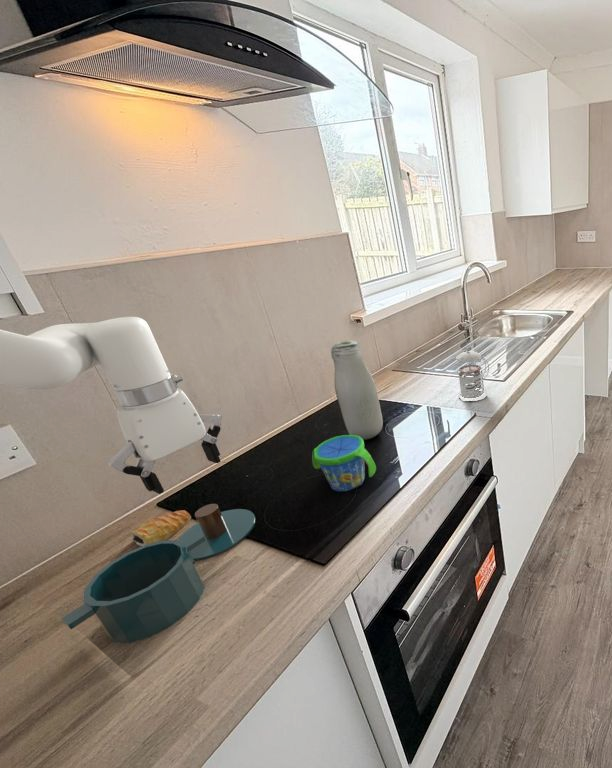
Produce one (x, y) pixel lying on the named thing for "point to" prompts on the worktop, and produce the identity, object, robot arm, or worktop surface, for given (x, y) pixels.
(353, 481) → the snack cup
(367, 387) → the glass bottle
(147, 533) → the pastry
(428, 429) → the worktop surface
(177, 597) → the pot
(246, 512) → the lid
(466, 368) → the french press
